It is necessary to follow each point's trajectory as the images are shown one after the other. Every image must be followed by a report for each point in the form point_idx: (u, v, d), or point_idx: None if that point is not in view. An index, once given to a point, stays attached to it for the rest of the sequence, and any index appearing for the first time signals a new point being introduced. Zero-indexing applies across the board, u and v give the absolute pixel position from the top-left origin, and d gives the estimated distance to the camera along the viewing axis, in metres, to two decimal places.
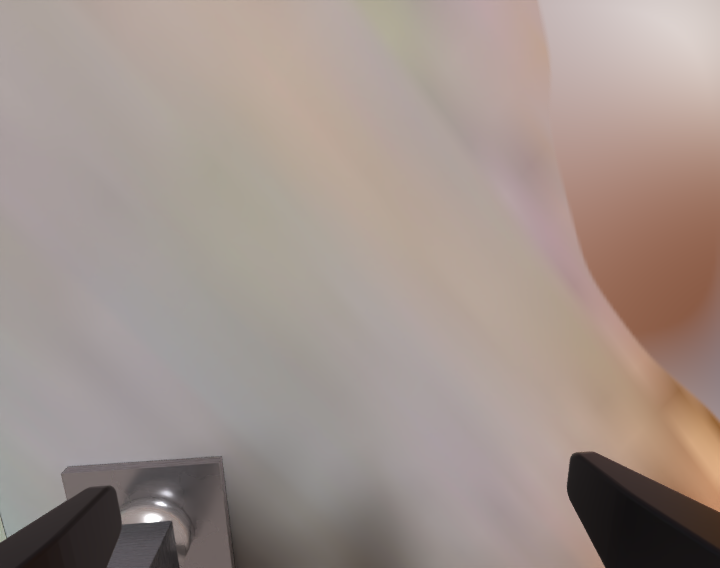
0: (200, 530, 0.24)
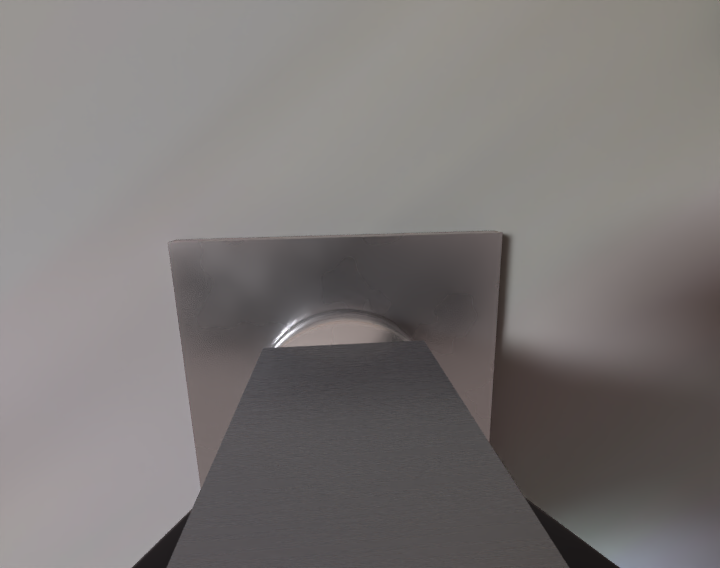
0: (349, 295, 0.11)
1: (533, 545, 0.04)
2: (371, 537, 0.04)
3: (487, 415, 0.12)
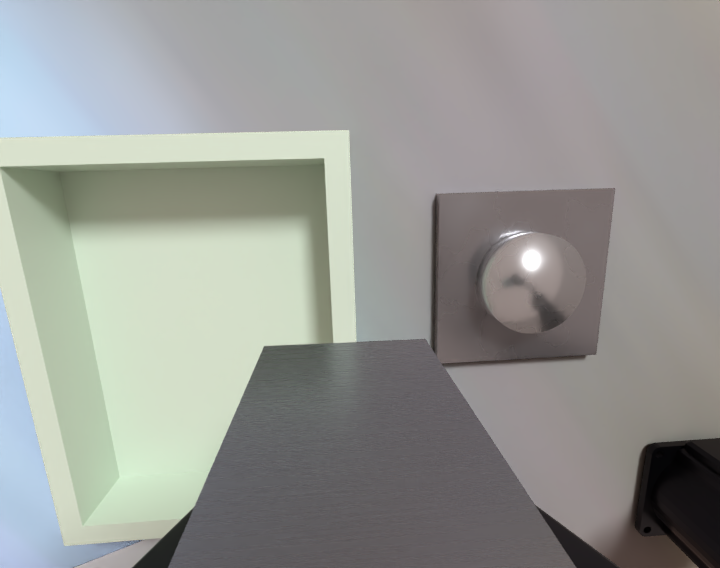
0: None
1: (538, 543, 0.04)
2: (376, 535, 0.04)
3: (497, 358, 0.21)
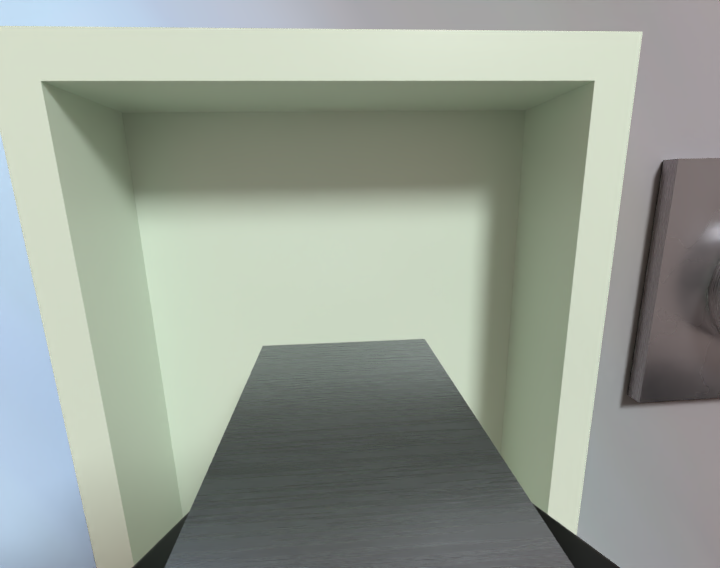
0: None
1: (537, 544, 0.04)
2: (373, 535, 0.04)
3: None
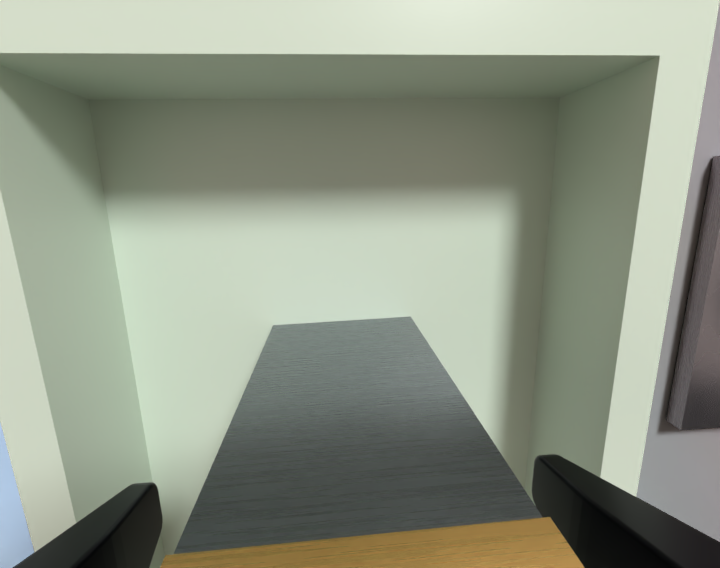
0: None
1: (475, 439, 0.06)
2: (360, 438, 0.06)
3: None
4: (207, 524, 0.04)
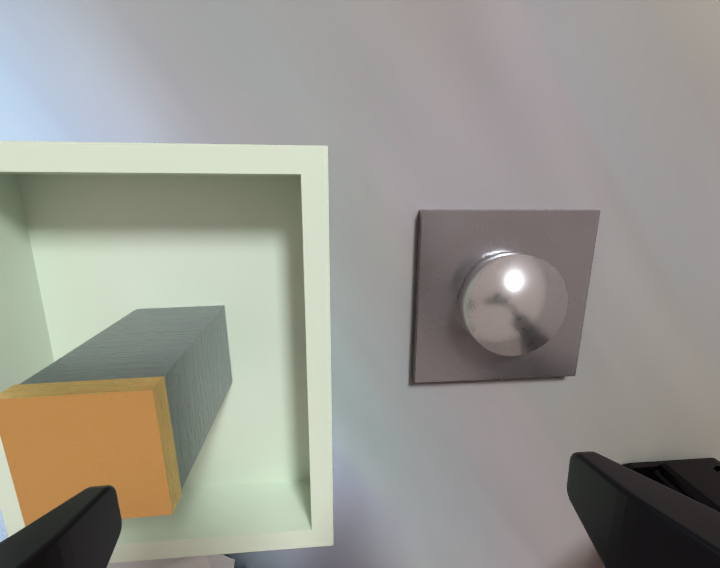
0: None
1: (173, 356, 0.13)
2: (124, 356, 0.13)
3: (476, 378, 0.21)
4: (35, 379, 0.11)
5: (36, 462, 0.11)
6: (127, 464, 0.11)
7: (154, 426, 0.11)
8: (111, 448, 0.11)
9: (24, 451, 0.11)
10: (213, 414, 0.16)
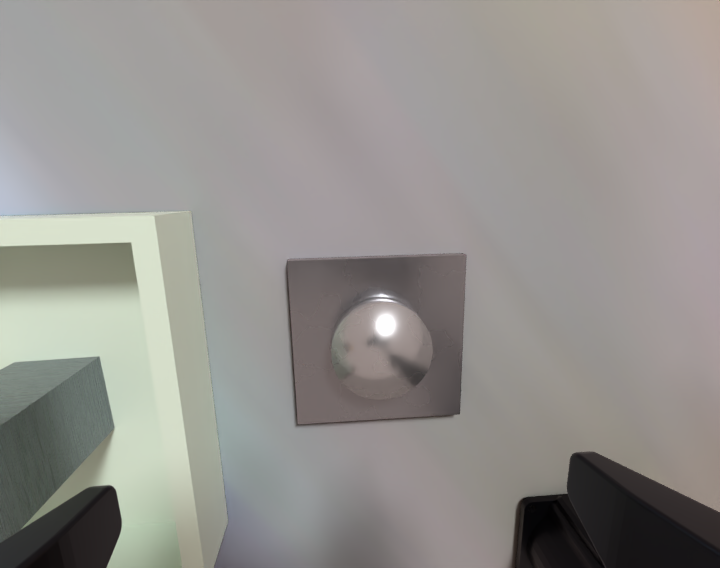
0: (433, 343, 0.20)
1: None
2: None
3: (359, 418, 0.21)
4: None
5: None
6: None
7: None
8: None
9: None
10: (71, 467, 0.17)
